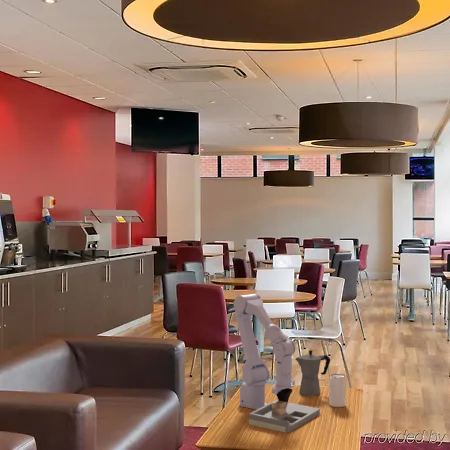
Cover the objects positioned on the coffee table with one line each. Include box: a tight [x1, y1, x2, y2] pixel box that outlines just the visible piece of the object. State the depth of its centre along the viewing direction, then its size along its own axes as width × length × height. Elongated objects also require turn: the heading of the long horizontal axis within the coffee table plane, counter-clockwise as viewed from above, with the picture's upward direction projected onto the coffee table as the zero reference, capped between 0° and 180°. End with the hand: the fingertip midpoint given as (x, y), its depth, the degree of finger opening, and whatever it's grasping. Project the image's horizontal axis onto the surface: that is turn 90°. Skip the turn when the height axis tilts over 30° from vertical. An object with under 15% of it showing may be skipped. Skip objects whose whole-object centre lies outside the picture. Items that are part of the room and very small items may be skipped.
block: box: [272, 399, 286, 415], centre depth 277 cm, size 4×4×4 cm
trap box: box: [248, 398, 321, 434], centre depth 276 cm, size 16×26×4 cm, turn 147°
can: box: [328, 373, 347, 408], centre depth 294 cm, size 6×6×12 cm
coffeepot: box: [295, 349, 331, 397], centre depth 310 cm, size 15×9×18 cm, turn 103°
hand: (283, 407), depth 280 cm, fingers closed
